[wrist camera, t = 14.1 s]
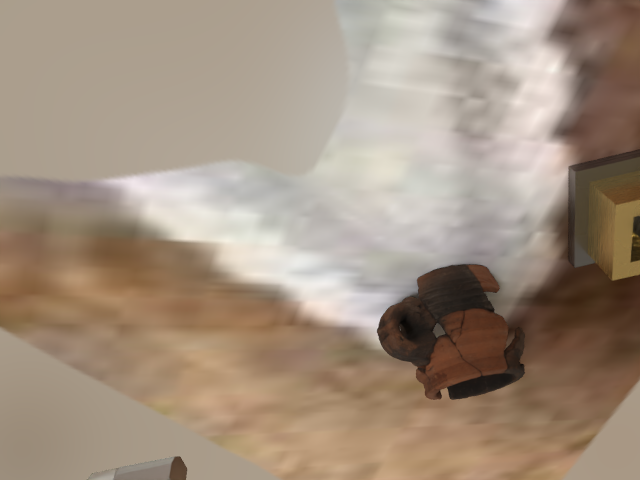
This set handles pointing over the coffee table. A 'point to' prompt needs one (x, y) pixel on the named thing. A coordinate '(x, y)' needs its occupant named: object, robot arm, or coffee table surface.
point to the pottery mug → (454, 334)
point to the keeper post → (580, 199)
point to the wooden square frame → (615, 225)
